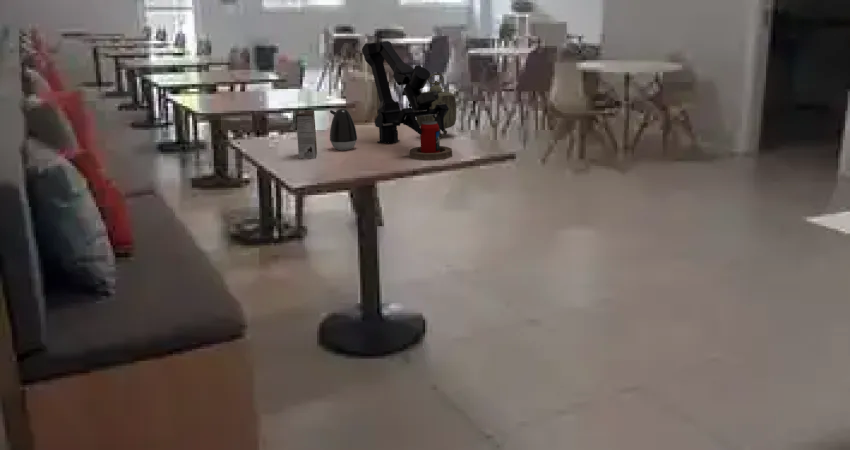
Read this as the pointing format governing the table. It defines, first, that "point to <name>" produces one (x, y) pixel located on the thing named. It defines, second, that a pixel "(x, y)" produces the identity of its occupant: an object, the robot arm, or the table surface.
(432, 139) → the beverage can
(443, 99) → the tabletop clock
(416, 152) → the walnut ring
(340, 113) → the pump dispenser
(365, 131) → the table surface
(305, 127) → the coffee box
